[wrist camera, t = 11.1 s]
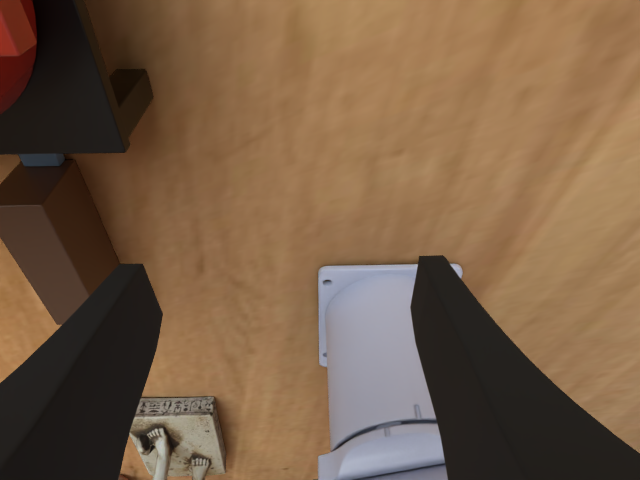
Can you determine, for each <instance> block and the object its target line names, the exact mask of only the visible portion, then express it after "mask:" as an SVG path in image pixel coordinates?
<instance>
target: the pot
mask: <svg viewBox="0 0 640 480" xmlns="http://www.w3.org/2000/svg"><path fill="white" fill-rule="evenodd" d="M152 99H153V94H152V90H151V86H150V82H149V78H148V75H147V71H146V69H117V70H115V72H114V73H113V74H112V75H111V76H110V77H109V76H108V73H107V70H106V67H105V64H104V61H103V58H102V54H101V51H100V48H99V45H98V42H97V39H96V36H95V33H94V30H93V27H92V24H91V21H90V17H89V14H88V11H87V8H86V5H85V2H84V0H0V155H2V154H71V153H125V152H126V151H127V149H128V148H129V146H130V141H129V137H130V135H131V133H132V132H133V130H134V128H135V127H136V125H137V123H138V122H139V120H140V119H141V117H142V115H143V114H144V112H145V110H146V109H147V107H148V106H149V104H150V102H151V101H152Z"/></svg>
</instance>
